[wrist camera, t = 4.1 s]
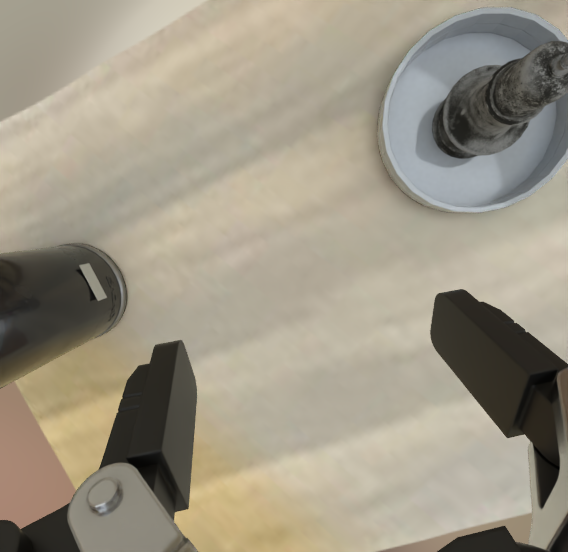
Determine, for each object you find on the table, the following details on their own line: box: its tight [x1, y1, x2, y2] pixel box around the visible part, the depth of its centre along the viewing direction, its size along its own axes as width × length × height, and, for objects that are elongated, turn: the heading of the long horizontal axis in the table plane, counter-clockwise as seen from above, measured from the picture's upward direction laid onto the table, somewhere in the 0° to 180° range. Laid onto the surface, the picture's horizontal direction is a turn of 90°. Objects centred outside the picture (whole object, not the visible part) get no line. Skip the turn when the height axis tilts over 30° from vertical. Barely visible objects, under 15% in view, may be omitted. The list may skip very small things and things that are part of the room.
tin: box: [377, 7, 568, 213], centre depth 26 cm, size 14×14×3 cm
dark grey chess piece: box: [432, 41, 568, 159], centre depth 21 cm, size 6×6×12 cm
